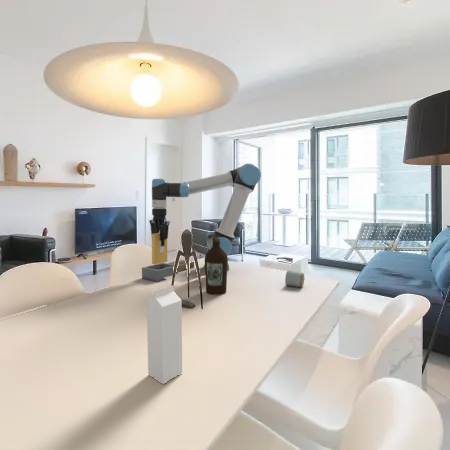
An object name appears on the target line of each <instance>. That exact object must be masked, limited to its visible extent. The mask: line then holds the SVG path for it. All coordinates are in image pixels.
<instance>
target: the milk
mask: <svg viewBox="0 0 450 450" xmlns="http://www.w3.org/2000/svg"><path fill="white" fill-rule="evenodd" d="M174 288H175V286H174V285H168V286H166V287H161V288H160V289H155V290H154V291H153V297H152V298H150V299H148V300H147V301H146V327H147V329H146V331H147V333H146V334H147V339H146V340H147V373H148V374H149V375H151V376H152V377H154V378H156V379H157V380H159V381H160V382H162V383H165V382H166V381H169V380H170V379H172V378H173V377H175V376H177V375H179V374H181V373H182V374H183V331H182V330H183V329H182V328H183V324H182V323H183V321H182V319H183V317H182V316H183V314H182V313H183V311H182V310H183V308H182V305H183V304H182V302H183V301H182V299H181V298H180V296H178V295H177V293H176V292H175V289H174ZM182 374H181V375H182ZM149 375H148V376H149ZM179 376H180V375H179ZM152 377H151V378H152ZM177 377H178V376H177ZM157 380H156V381H157ZM172 380H173V379H172ZM160 382H159V383H160ZM169 382H170V381H169Z"/></svg>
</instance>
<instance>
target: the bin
mask: <svg viewBox="0 0 450 450" xmlns="http://www.w3.org/2000/svg"><path fill="white" fill-rule="evenodd" d="M167 263H168V262H163V263H159V264H152V265H148V266H143V267H141V279H143V280H146V281H150V282H156V283H161V282H163V281H167V280H168V278H169V277H171V276H174V275H173V267H174V265H173V264H167ZM178 274H179V272H178V268H177V272H176V274H175V275H178Z"/></svg>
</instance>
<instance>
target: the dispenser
mask: <svg viewBox="0 0 450 450" xmlns="http://www.w3.org/2000/svg"><path fill="white" fill-rule="evenodd" d="M179 260H180V261H179ZM179 260H178V261H179V266H178V273H182V272H184V271H187V269H186V263H185V261H186V260H185V259H179ZM166 263H167V264H173V265H174V263H175V261H173V262H172V261H171V262H166ZM191 269H195V262H194V261H191V263H190V269H189V270H191Z"/></svg>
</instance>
